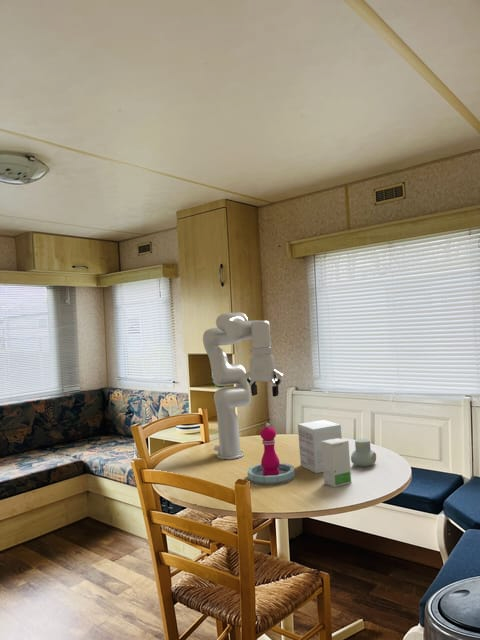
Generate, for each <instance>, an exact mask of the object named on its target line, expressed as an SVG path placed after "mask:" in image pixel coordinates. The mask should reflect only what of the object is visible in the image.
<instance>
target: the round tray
mask: <svg viewBox="0 0 480 640" xmlns="http://www.w3.org/2000/svg"><path fill="white" fill-rule="evenodd" d="M278 469H279V475H271V476H264V475H263V470H264V468H263V467H262V465H261V463H258V464H255V465H253V466H251V467H248V469H247V478H248V481H249V483H252V484H254V485H258V486H279V485H285V484H288V483H289V482H292V481H293V480H294V479H295V475H296V474H295V466H294V465H291V464H289V463H284V462H280V464H279V466H278Z"/></svg>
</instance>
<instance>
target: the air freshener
mask: <svg viewBox="0 0 480 640" xmlns="http://www.w3.org/2000/svg"><path fill="white" fill-rule="evenodd" d="M354 443H355V444H354V447H355V450H353V452H351V455H350V462H351V463H352V464H353V465H354V466H357V467H360V468H368V467H369V466H370V467H372V466H373V465H375V464H376V461H377V453H376V452H375V451H373V450H372V449H371V441H370V440H369V439H367V438H358V439H355V441H354Z"/></svg>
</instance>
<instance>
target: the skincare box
mask: <svg viewBox="0 0 480 640" xmlns="http://www.w3.org/2000/svg"><path fill="white" fill-rule="evenodd" d="M321 444H322V458H323V472H322V473H323V483H324V484H325V485H327V486H330V487H332V488H337V487H342V486H344V485H349V484H352V471H351V470H352V469H351V455H350V446H349V445H350V444H349V440H347V439H344V438H342V439H339V438H337V439H329V440H325V441H321Z"/></svg>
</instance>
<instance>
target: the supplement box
mask: <svg viewBox="0 0 480 640" xmlns="http://www.w3.org/2000/svg"><path fill="white" fill-rule="evenodd" d="M297 429H298V432H297V434H298V445H299V446H298V447H299V460H300V461H299V462H300V466H301V467H303V468H305V469H307V470H309V471H311V472H313V473H315V474H319V473H323V458H322V444H321V441H325V440H329V439H337V438H339V439H343V438H342V425H341V424H339V423H336V422H333V421H330V420H326V419H320V420H313V421H309V422H301V423H297Z"/></svg>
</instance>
